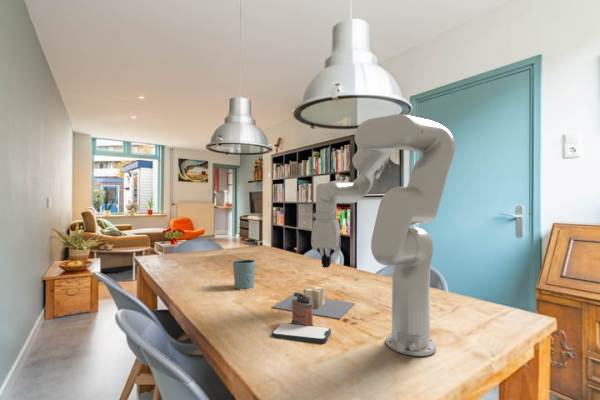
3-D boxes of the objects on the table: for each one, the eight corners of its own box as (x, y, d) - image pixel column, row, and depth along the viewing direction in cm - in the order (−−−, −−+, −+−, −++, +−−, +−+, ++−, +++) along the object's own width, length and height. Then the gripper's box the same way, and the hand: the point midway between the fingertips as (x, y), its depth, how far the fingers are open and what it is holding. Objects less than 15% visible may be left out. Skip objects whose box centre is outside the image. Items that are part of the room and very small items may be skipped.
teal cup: (253, 290, 136) (253, 263, 136) (230, 290, 136) (230, 263, 137) (256, 284, 146) (256, 259, 147) (235, 284, 146) (235, 259, 147)
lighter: (315, 327, 95) (315, 294, 95) (308, 330, 92) (308, 297, 93) (296, 320, 100) (296, 289, 101) (289, 323, 98) (289, 291, 98)
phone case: (270, 339, 88) (325, 345, 83) (269, 333, 88) (325, 339, 83) (280, 327, 96) (331, 333, 92) (280, 322, 96) (331, 327, 92)
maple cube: (318, 291, 112) (303, 289, 114) (318, 308, 111) (303, 306, 114) (324, 287, 117) (310, 285, 120) (324, 303, 117) (310, 301, 119)
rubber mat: (339, 319, 102) (339, 318, 102) (271, 307, 113) (271, 306, 113) (354, 304, 118) (354, 302, 118) (293, 295, 129) (293, 294, 129)
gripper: (303, 216, 114) (303, 267, 114) (342, 217, 108) (342, 270, 107) (311, 216, 121) (311, 263, 120) (348, 216, 114) (348, 266, 114)
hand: (326, 266), depth 114 cm, fingers closed
